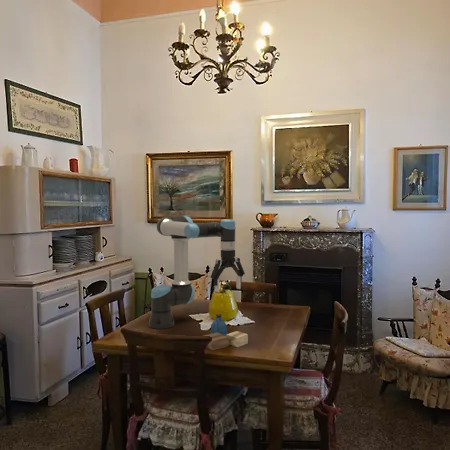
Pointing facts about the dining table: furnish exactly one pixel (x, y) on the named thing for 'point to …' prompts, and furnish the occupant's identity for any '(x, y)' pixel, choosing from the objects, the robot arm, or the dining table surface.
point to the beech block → (237, 338)
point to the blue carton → (219, 325)
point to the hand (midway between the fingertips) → (228, 290)
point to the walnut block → (218, 341)
